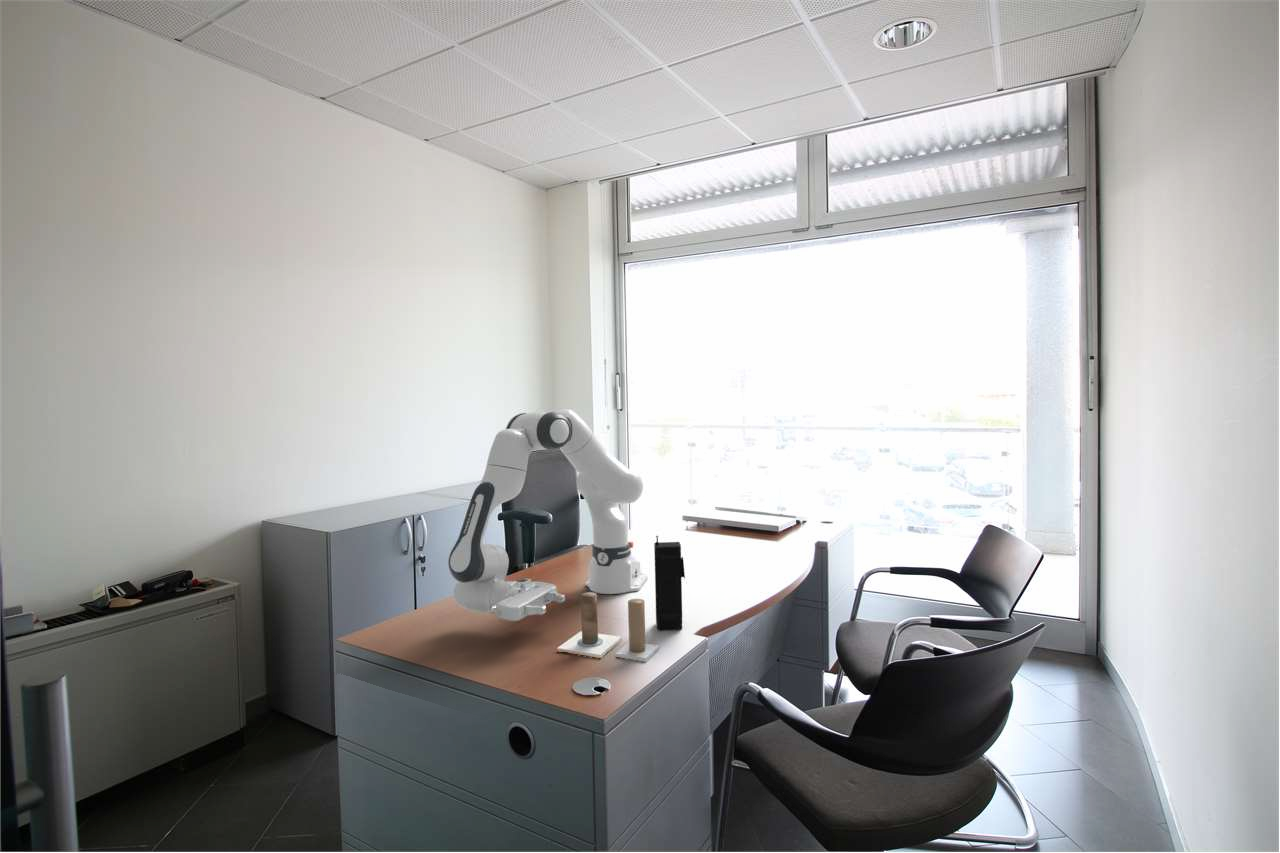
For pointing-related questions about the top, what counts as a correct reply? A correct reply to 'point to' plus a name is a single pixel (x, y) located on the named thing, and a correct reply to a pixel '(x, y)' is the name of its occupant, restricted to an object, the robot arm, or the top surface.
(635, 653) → the tan wooden dowel
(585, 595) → the walnut pin
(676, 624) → the portable radio
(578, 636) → the plate
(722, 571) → the top surface
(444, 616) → the top surface
